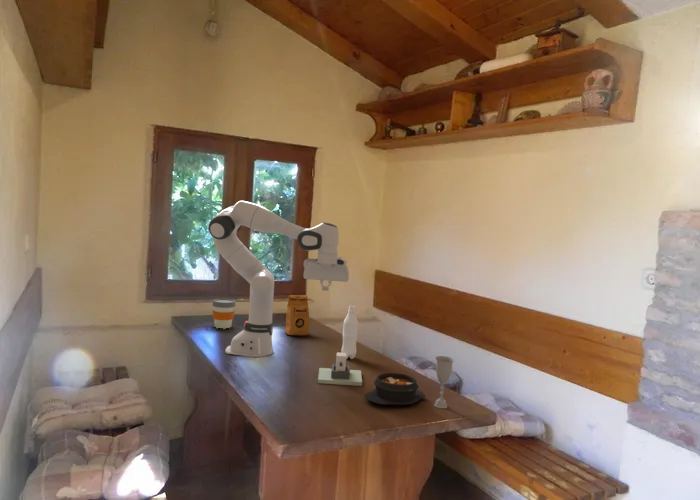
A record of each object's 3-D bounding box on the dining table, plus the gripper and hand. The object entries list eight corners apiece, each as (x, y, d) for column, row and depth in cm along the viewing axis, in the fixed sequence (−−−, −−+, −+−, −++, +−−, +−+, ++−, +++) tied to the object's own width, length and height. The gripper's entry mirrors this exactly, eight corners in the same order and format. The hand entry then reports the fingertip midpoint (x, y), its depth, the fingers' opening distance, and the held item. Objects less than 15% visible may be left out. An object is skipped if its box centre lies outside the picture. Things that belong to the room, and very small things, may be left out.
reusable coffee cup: (209, 324, 307) (210, 298, 306) (231, 324, 312) (232, 298, 311) (213, 330, 295) (215, 302, 294) (236, 329, 301) (238, 302, 299)
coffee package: (309, 336, 296) (312, 296, 294) (287, 336, 292) (289, 296, 290) (305, 332, 305) (308, 293, 304) (284, 332, 301) (286, 293, 300)
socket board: (317, 383, 219) (318, 372, 219) (319, 371, 235) (319, 361, 235) (362, 385, 220) (362, 375, 219) (360, 373, 236) (361, 363, 235)
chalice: (429, 401, 207) (433, 355, 205) (447, 402, 207) (451, 356, 206) (434, 409, 199) (438, 361, 198) (452, 409, 200) (456, 362, 199)
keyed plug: (335, 379, 221) (336, 357, 220) (335, 372, 230) (336, 351, 229) (344, 379, 221) (346, 358, 220) (344, 373, 230) (346, 352, 229)
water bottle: (354, 360, 255) (358, 308, 253) (339, 358, 257) (343, 306, 255) (357, 356, 262) (360, 305, 260) (342, 355, 264) (346, 304, 262)
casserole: (384, 414, 191) (386, 391, 190) (353, 397, 206) (355, 375, 205) (435, 403, 206) (437, 381, 205) (403, 388, 221) (405, 368, 220)
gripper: (303, 258, 237) (301, 289, 238) (350, 261, 237) (347, 292, 239) (304, 257, 243) (302, 287, 244) (349, 260, 244) (347, 290, 245)
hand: (325, 290), depth 241 cm, fingers closed
